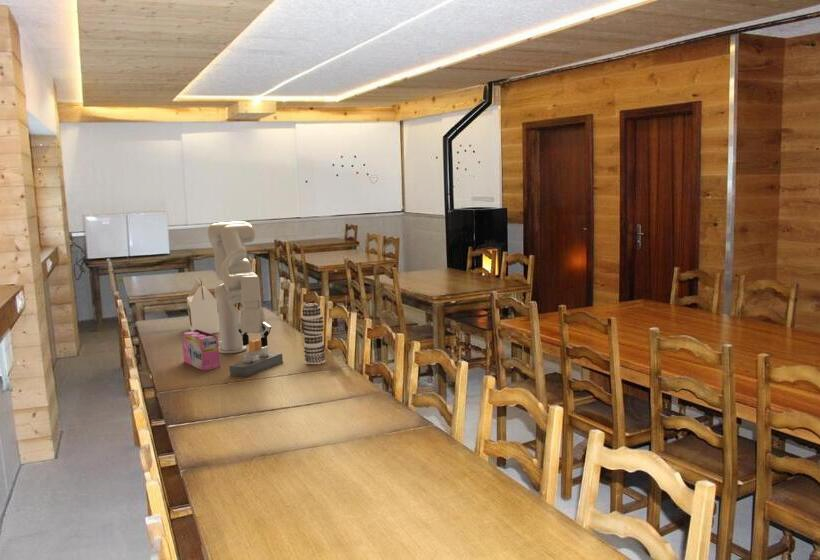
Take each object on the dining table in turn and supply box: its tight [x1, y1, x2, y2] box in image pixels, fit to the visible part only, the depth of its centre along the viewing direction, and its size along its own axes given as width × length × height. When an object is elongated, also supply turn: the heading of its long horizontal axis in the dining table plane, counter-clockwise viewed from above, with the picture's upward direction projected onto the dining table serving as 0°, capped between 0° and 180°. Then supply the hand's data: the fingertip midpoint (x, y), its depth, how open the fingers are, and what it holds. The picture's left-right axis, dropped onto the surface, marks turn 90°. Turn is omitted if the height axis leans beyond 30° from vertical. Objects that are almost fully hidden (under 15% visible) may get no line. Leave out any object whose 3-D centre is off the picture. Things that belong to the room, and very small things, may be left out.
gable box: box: [186, 277, 220, 335], centre depth 399 cm, size 22×13×28 cm, turn 21°
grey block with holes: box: [229, 351, 284, 378], centre depth 311 cm, size 8×24×4 cm, turn 152°
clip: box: [242, 338, 269, 364], centre depth 310 cm, size 3×14×12 cm, turn 152°
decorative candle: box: [300, 302, 326, 365], centre depth 315 cm, size 9×9×25 cm
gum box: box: [181, 329, 221, 371], centre depth 324 cm, size 24×8×14 cm, turn 37°
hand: (255, 345), depth 310 cm, fingers open, 9 cm apart
